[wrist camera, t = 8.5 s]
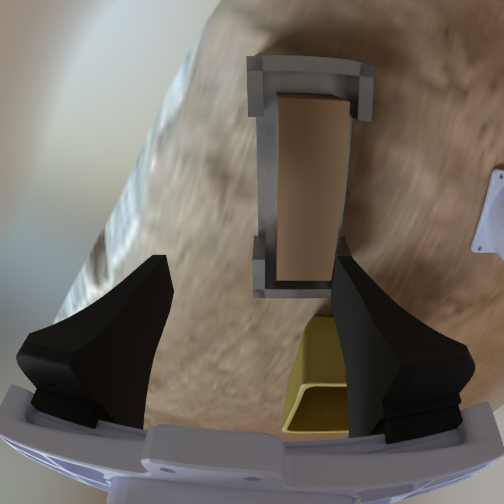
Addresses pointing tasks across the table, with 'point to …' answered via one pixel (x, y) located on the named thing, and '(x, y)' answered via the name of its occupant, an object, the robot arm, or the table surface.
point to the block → (309, 183)
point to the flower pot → (317, 382)
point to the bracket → (265, 110)
